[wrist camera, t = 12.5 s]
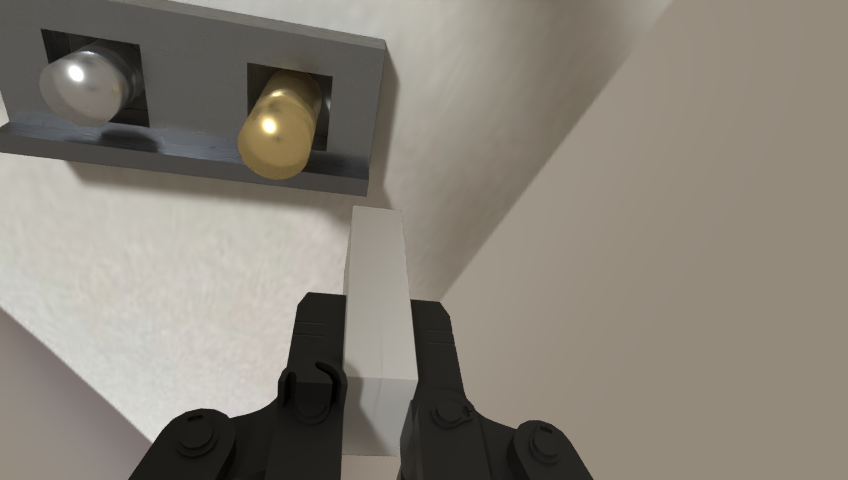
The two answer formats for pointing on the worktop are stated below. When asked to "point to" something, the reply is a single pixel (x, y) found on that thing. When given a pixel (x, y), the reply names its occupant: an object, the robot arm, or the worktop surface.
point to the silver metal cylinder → (93, 82)
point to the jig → (188, 89)
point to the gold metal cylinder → (281, 125)
